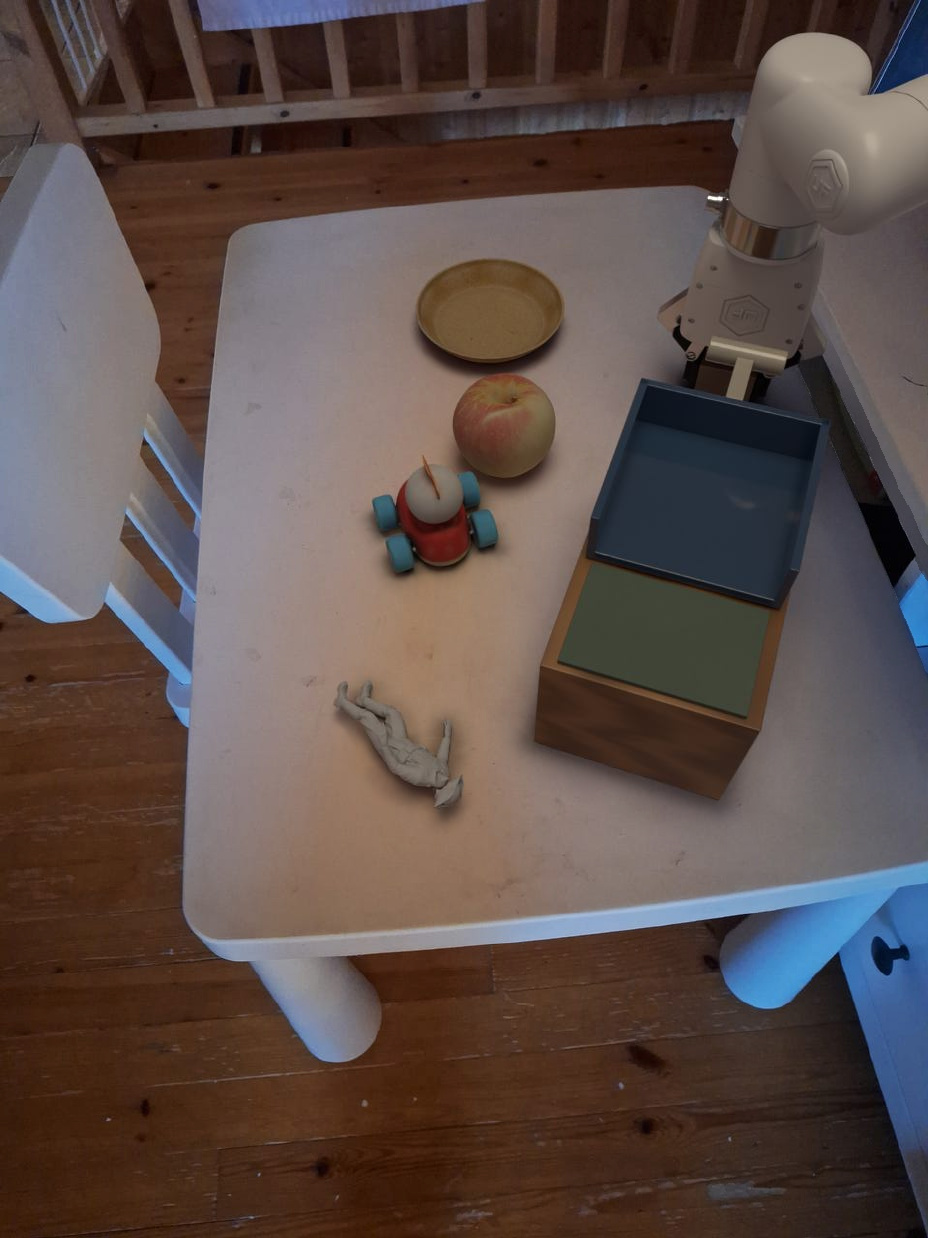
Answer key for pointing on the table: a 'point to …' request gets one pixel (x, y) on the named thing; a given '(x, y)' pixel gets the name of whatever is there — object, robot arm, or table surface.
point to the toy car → (434, 517)
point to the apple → (504, 425)
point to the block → (719, 378)
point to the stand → (647, 710)
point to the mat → (666, 639)
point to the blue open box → (712, 484)
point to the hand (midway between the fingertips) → (722, 390)
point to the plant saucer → (489, 309)
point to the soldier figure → (403, 746)
